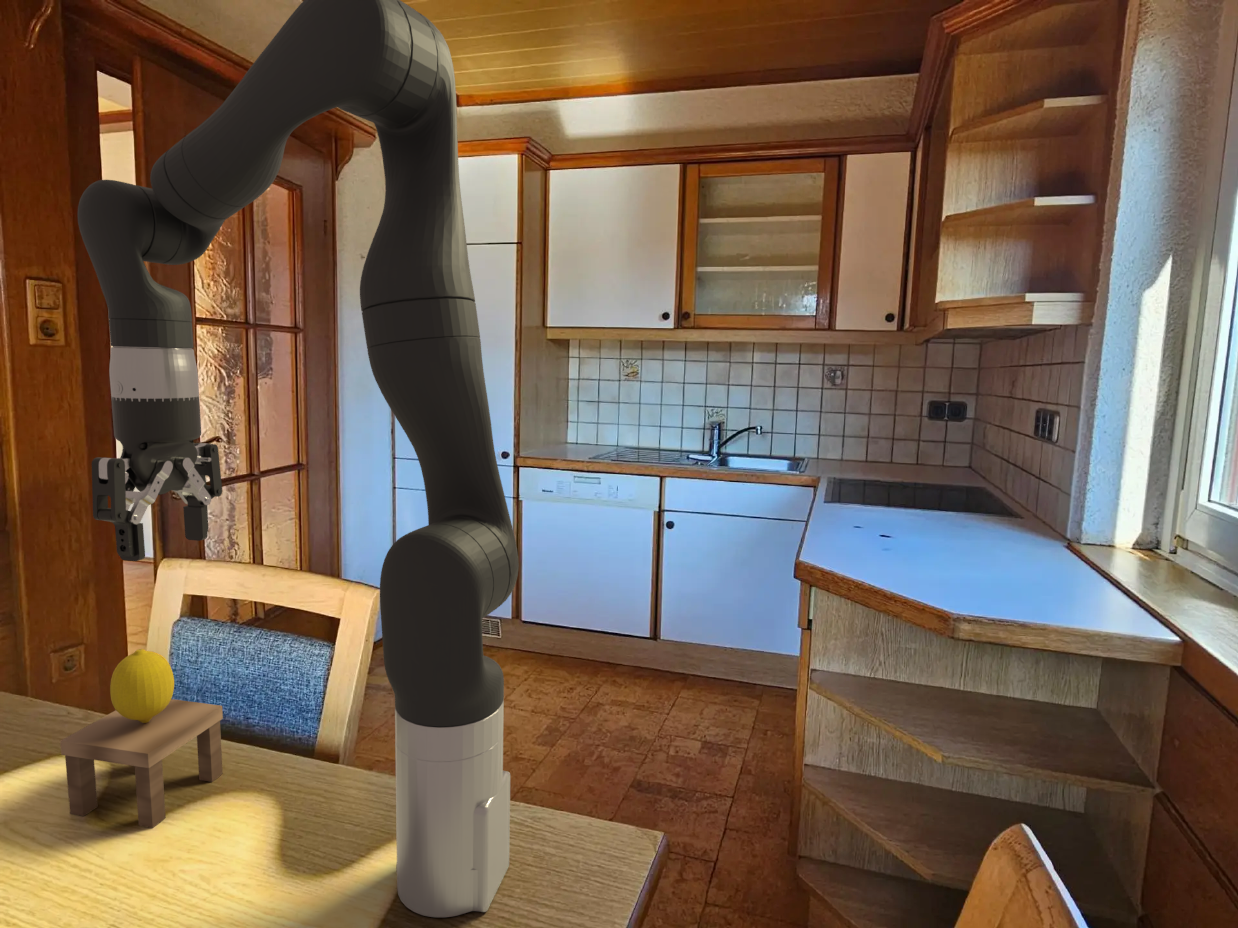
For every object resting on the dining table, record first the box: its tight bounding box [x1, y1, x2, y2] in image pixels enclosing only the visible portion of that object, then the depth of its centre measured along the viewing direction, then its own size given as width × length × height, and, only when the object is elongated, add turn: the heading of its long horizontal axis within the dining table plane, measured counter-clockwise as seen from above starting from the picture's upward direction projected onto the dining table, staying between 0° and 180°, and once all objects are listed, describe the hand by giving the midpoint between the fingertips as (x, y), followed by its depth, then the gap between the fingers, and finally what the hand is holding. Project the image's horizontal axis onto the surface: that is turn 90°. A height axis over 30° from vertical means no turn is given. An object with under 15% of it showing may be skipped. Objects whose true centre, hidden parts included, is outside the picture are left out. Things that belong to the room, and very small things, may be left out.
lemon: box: [109, 648, 175, 723], centre depth 75 cm, size 6×6×8 cm
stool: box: [59, 698, 224, 829], centre depth 76 cm, size 10×10×8 cm
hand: (166, 549), depth 75 cm, fingers open, 8 cm apart
